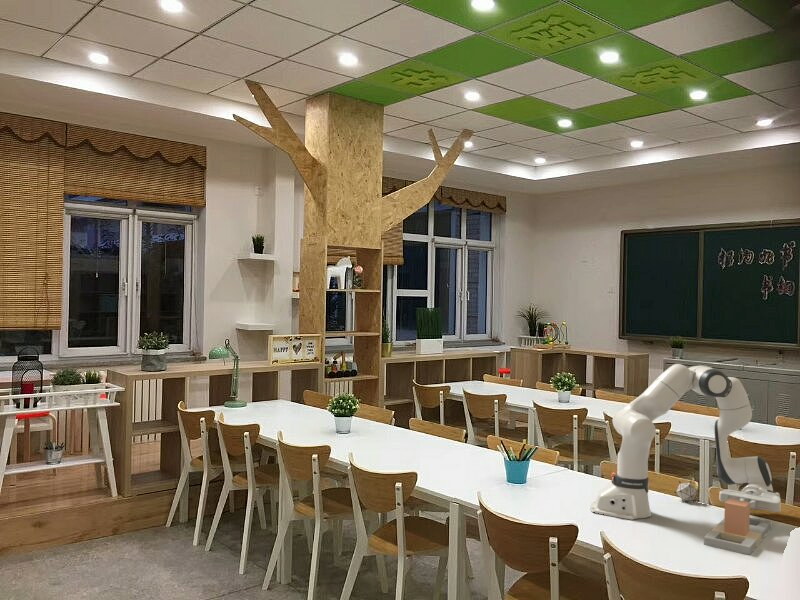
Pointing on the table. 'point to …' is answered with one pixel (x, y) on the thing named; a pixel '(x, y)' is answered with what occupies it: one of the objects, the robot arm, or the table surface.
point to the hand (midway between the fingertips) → (745, 505)
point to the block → (737, 517)
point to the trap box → (738, 537)
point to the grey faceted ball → (686, 491)
